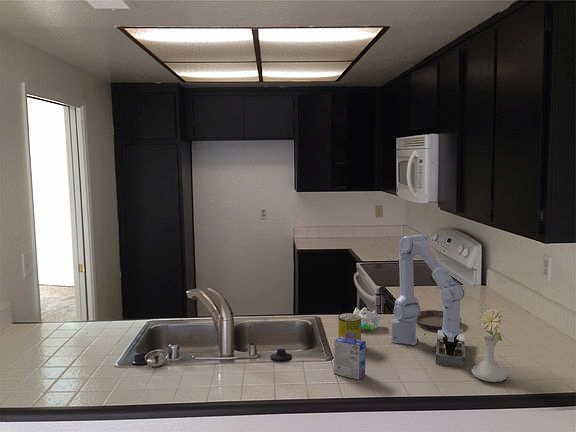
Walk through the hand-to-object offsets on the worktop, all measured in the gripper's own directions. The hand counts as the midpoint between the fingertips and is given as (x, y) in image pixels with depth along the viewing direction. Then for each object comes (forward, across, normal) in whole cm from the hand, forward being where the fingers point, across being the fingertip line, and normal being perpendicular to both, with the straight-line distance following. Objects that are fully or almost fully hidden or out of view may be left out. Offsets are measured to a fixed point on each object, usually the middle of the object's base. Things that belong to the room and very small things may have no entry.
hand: (450, 353), depth 188 cm
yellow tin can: (+3, +4, +38) cm, 38 cm away
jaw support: (+4, +26, +36) cm, 45 cm away
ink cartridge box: (+3, -21, +33) cm, 39 cm away
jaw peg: (+3, 0, 0) cm, 3 cm away
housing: (+3, +5, 0) cm, 6 cm away
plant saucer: (+4, +40, +6) cm, 40 cm away
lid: (-1, +15, 0) cm, 15 cm away
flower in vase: (+3, -11, -13) cm, 18 cm away
